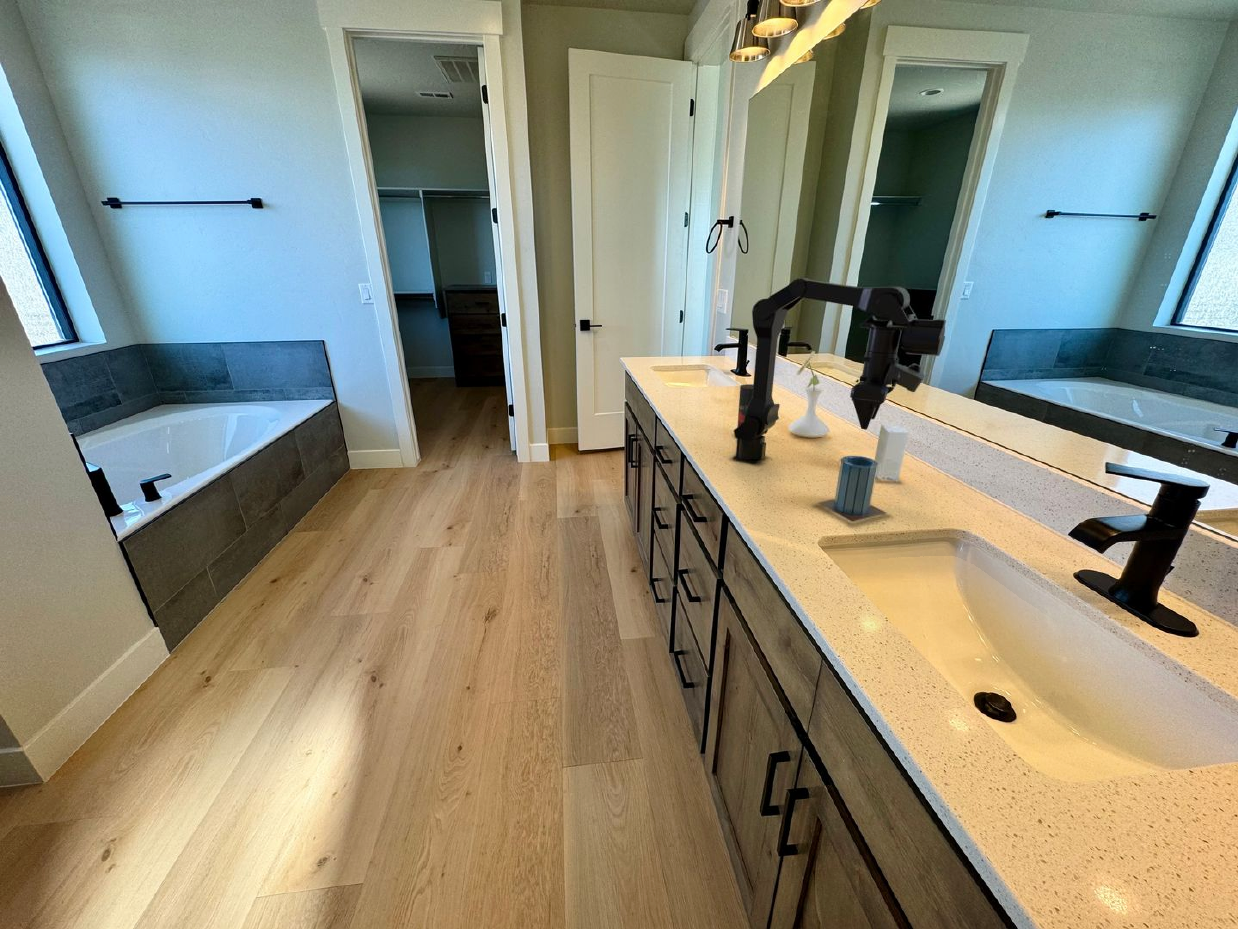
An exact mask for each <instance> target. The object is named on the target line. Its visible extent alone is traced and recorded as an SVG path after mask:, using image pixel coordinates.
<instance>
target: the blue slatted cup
mask: <svg viewBox="0 0 1238 929" xmlns="http://www.w3.org/2000/svg"><path fill="white" fill-rule="evenodd" d="M877 468H878V463H877V462H876V461H875V459H873V458H870V457H868V456H867V457H866V456H861V455H846V456H843V457H842V458H841V459H840V465H839V470H838V477H837V482H836V490H835V496H834V499H835V501H834V506H835V508H836V509H838V510H839V511H841V512H844V513H848V514H853V515H863V514H867V513H868V512H869V510H870V505H872V499H873V494H874V490H875V483H876V478H877V477H876V474H877Z"/></svg>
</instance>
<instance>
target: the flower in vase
mask: <svg viewBox="0 0 1238 929" xmlns="http://www.w3.org/2000/svg"><path fill="white" fill-rule="evenodd" d="M815 354H816V351H815V350H812V351H811V353H810V354H809V355H808V356H807V358H806V360H805V361H804V363H802V365H801V367H800V368H799V369H798V371H797V372H796V376H800V375H801V374H802V373H803V372H804V371H805V369H806V368H809V369H810V372H811V375H812V377H811V378H810V379H809V383H808V385H807V386H806V387H805V388H804V391H805V393H806V395H807V408H806V412H805V413H804V414H803V415H802V416H800V417H799V418H797V419H796V420H794V421H793V422H791V423H789V426H788V430H789V432H790V433H792V434H794V435H796V436H799V437H804V438H820V437H822V438H823V437H825V436H828V434H829V433H830V428H829V426H828V425H827V424H826V423H825V422H824V421H823V420H822V419H820V418H819V416H818V415H817V413H816V409H817V408H816V407H817V403H818V399H819V397H820V395H821V394H822V392H823V391H824V389H823V388H821V387H816V386H817V385H819V384H820V380H819V378H818V375H817V374H815V373H814V371H813V368H812V365H811V360H812V359H813V357H814V356H815ZM812 385H813V386H812Z"/></svg>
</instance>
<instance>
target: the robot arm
mask: <svg viewBox="0 0 1238 929" xmlns="http://www.w3.org/2000/svg"><path fill="white" fill-rule="evenodd" d="M804 299H807V300H808V299H809V300H815V301H821V302H825V303H833V304H838V305H844V306H850V307H854V308H857V309H859V310H861V311H863V312H864V313H868V314H869V316H868V318H867V319H865V320H864V321H863V322H862V323H860V324H859V328H861V329H869V332H868V333H869V334H868V340H867V344H866V352H865V354H864V356H863V358H862V362H863V368H862V374H861V375H860V376H859V380H858V383H856V384H854V385H853V386H852V387H851V390H850V395H849V398H851V402H852V403H853V407H854V410H855V412H856V415H857V420H858V423H859V426H860V429H861V430H865V431H866V430H868V428H869V426H870V423H871V422H872V420H875V418H876V417H877V414H878V412H879V410H880V407H881V405H883V404H884V403H885V402H886V399H887V396H888V394H890V393H891V392H893V391H894V390H895V387H896V386H897V385H898V386H901V387H902V388H904V389H906V390H907V391H908V392H911V393H915V392H916V391H917V389H918V388H919V387H920V385H921V384H922V382H923V380H924V379H925V377H926V375H925V374H924V373H923V372H922V371H921V370H922V366H921V365H919V364H917V363H915V362H914V363H912V364H910V365H909V366H907V365H902V364H901V363H899V361H900V358H899V357H898V351H899V346H900V348H901V349H902V350H904V351H905V354H907V355H920V356H921V355H922V356H933V357H939V356H940V354H941V353H942V349H943V347H944V344H945V339H946V335H945V333H946V322H947V320H946V319H944V318H943V319H941V318H937V319H922V318H921V319H919V318H918V317H917V315H916V313H915V312H914V310H913V308H912V307H911V305H910V302H911V296H910V293H909V292H908V290H907V289H906V288H904V287H902V286H876V287H875V286H872V287H869V286H868V287H860V286H853V285H849V284H840V283H834V282H829V281H828V282H827V281H820V280H814V279H810V278H808V277H801V278H798V277H797V278H795V279H793V280H792V281H791V282H790V283H789V284H788V285H786V286H785V287H782V289H779V290H778V291H776V292H775V293H773V294H771V295H770V296H769V297H768V298H761V299H760V300H758V301H756V302H755V304H754V305H753V306H752V310H751V319H752V327H753V330H754V334H755V336H756V348H755V360H754V373H753V396H752V399H751V401H750V403H749V405H748V407H747V410H746V414H745V418H744V423H742V424H741V425H740V426H739V427H737V426H736V428H734V429H733V433H734V438H735V439H736V446H735V455H734V456H733V457H732V459H733V460H736V461H741V462H744V463H750V464H754V465H756V464H757V465H758V464H759V463H760V462H761V461H763V460H764V459H766V450H767V442H766V436H765V435H766V434H768V432H769V429H771V428H772V427H774V426H775V424H776V422H777V421H778V420H780V418H779V410H780V406H781V405H780V404H779V403H775V402H774V398H773V387H774V380H775V379H774V377H775V368H776V357H777V347H778V338H779V336H780V334H781V332H782V329H783V328H784V325H785V321H786V318H787V314H788V312H789V311H791V310H792V309H793V308H795V307H796V306H797V305H798V304H799V303H800V302H801V301H802V300H804ZM876 317H879V318H881V319H877V318H876ZM893 323H894V324H893ZM900 340H901V341H900ZM921 372H922V373H921Z"/></svg>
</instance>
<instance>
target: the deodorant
mask: <svg viewBox="0 0 1238 929" xmlns="http://www.w3.org/2000/svg"><path fill="white" fill-rule="evenodd" d="M752 396H753V384H750V383H748V384H747V383H746V384H741V385H740V386H739V399H738V402H739V403H738V414H737V424H736V425H737V426H736V428H737V427H739V426H740V425H741V424H742V423H744V418H745V414H746V410H747V407H748V405H749V403H750V401H751V399H752Z"/></svg>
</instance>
